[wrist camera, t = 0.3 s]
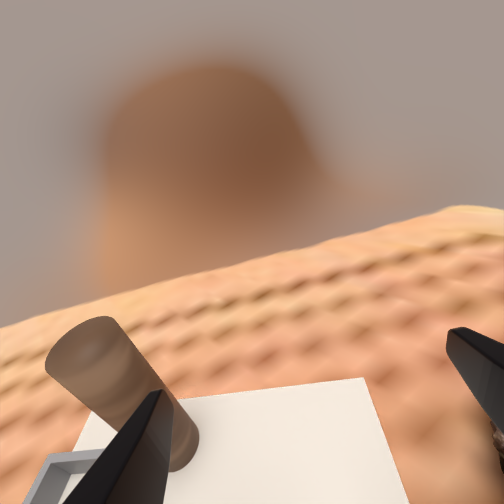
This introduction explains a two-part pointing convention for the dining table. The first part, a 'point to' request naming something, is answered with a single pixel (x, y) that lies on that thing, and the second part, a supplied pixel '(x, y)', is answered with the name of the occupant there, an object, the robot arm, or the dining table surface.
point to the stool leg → (115, 380)
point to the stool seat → (261, 450)
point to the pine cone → (499, 443)
